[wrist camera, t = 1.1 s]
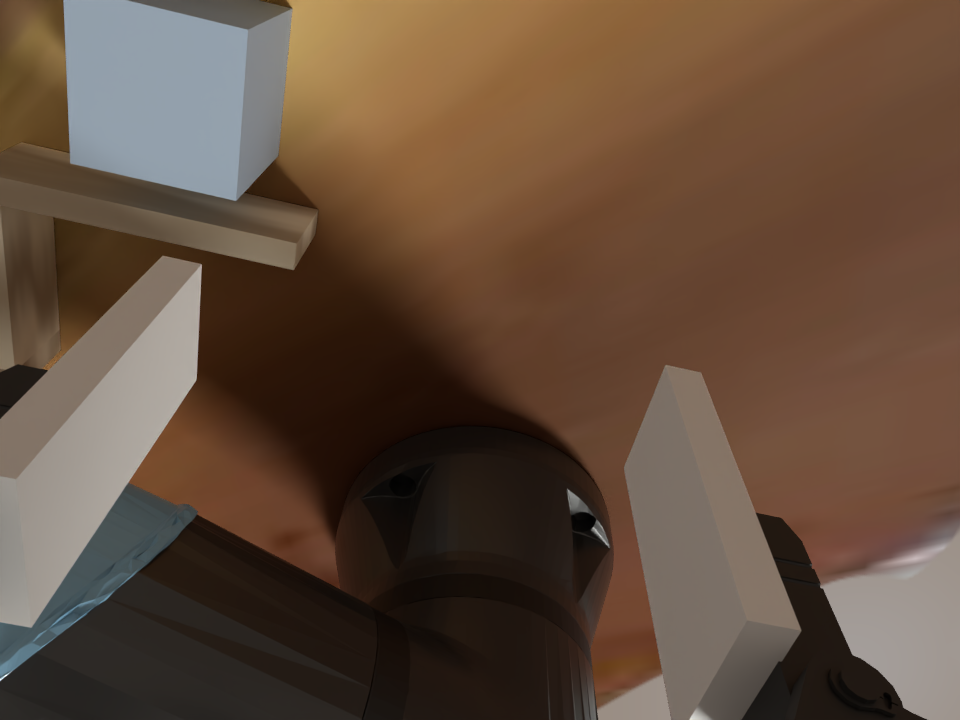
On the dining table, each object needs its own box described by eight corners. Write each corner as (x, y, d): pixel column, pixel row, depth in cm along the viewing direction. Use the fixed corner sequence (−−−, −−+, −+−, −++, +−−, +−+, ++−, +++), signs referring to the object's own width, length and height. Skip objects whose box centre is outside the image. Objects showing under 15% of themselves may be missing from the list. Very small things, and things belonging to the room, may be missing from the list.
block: (278, 155, 34) (236, 201, 29) (139, 122, 34) (70, 163, 28) (292, 8, 31) (248, 29, 26) (139, -30, 31) (62, -16, 25)
